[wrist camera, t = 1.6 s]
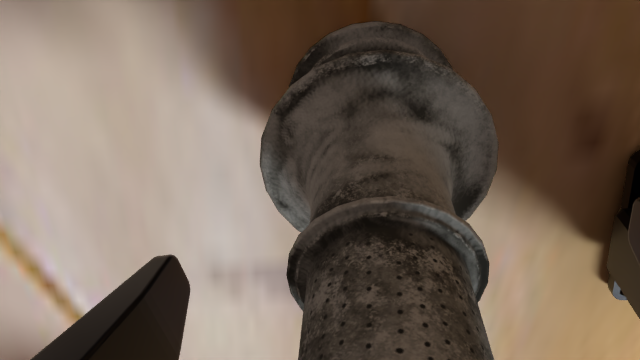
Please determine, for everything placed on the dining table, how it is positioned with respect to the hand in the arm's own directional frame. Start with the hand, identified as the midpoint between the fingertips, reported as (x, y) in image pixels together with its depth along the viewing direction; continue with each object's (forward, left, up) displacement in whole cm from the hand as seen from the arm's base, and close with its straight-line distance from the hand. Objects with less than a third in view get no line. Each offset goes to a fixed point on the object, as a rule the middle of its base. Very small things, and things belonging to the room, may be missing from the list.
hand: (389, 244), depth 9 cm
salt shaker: (0, 0, -7) cm, 7 cm away
